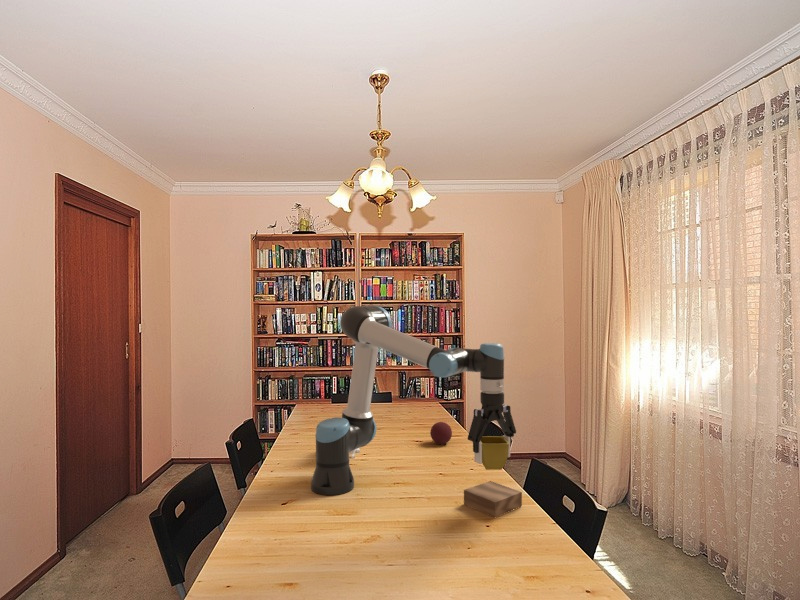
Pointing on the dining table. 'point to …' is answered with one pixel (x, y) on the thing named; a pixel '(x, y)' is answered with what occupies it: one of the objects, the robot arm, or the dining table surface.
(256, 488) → the dining table surface
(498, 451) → the flower pot
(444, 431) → the decorative ball
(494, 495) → the walnut block
